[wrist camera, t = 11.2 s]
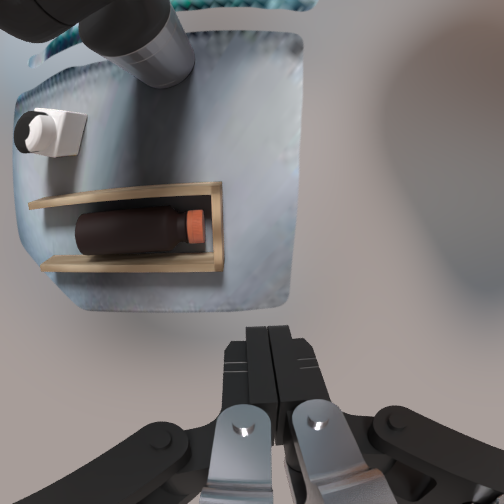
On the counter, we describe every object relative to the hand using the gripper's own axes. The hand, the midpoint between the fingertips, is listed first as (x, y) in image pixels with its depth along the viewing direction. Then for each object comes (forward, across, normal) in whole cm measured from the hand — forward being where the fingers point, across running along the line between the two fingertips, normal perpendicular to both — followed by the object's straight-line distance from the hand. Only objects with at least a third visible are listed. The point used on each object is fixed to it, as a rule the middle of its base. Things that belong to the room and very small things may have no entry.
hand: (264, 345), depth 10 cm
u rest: (+35, +20, +4) cm, 41 cm away
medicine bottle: (+35, +30, -13) cm, 48 cm away
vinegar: (+32, +26, +4) cm, 41 cm away
